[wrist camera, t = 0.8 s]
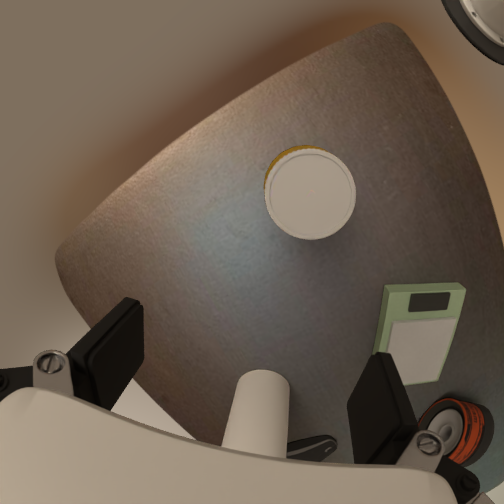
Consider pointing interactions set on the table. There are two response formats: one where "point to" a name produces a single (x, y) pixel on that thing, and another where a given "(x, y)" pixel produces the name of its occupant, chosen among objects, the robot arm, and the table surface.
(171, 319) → the table surface
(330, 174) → the bottle
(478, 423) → the oil filter
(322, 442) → the computer mouse
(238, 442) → the cup
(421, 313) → the scale
